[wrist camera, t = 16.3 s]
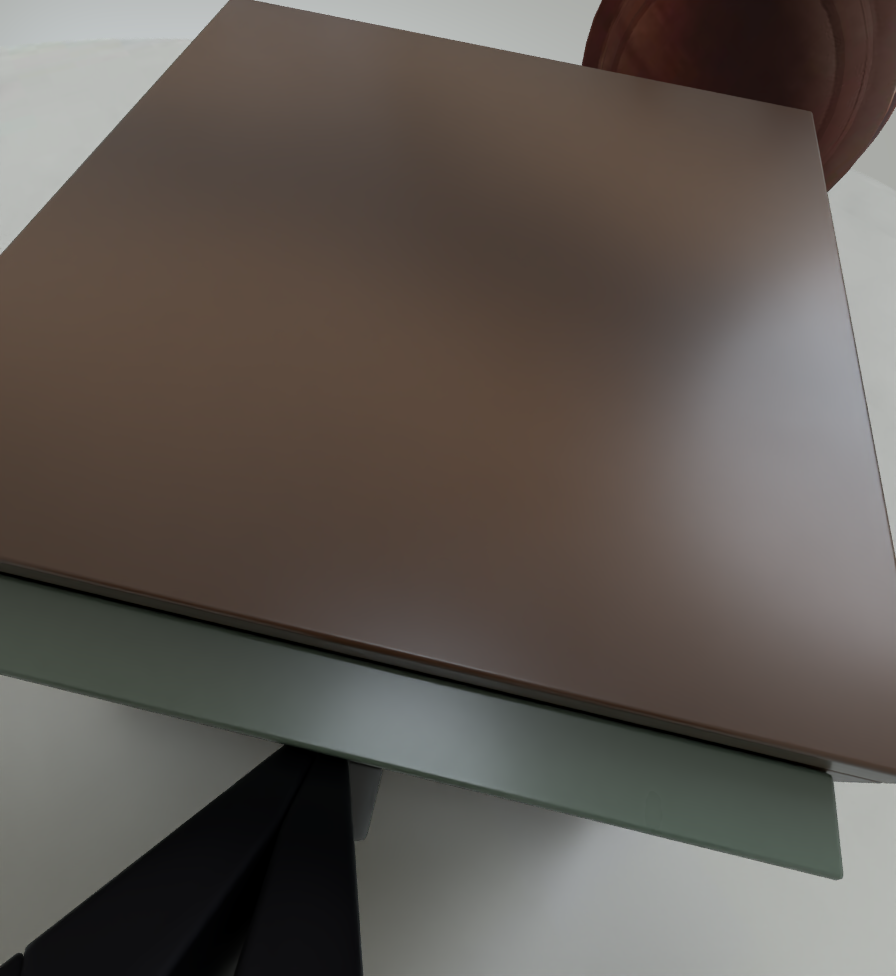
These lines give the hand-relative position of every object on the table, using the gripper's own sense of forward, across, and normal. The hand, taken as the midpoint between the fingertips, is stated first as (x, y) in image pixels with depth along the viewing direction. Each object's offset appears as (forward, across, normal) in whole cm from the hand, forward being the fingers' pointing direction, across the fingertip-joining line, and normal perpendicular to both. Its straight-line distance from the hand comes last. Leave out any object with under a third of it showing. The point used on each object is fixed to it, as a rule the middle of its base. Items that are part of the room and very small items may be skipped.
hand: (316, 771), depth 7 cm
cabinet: (+11, 0, -1) cm, 11 cm away
